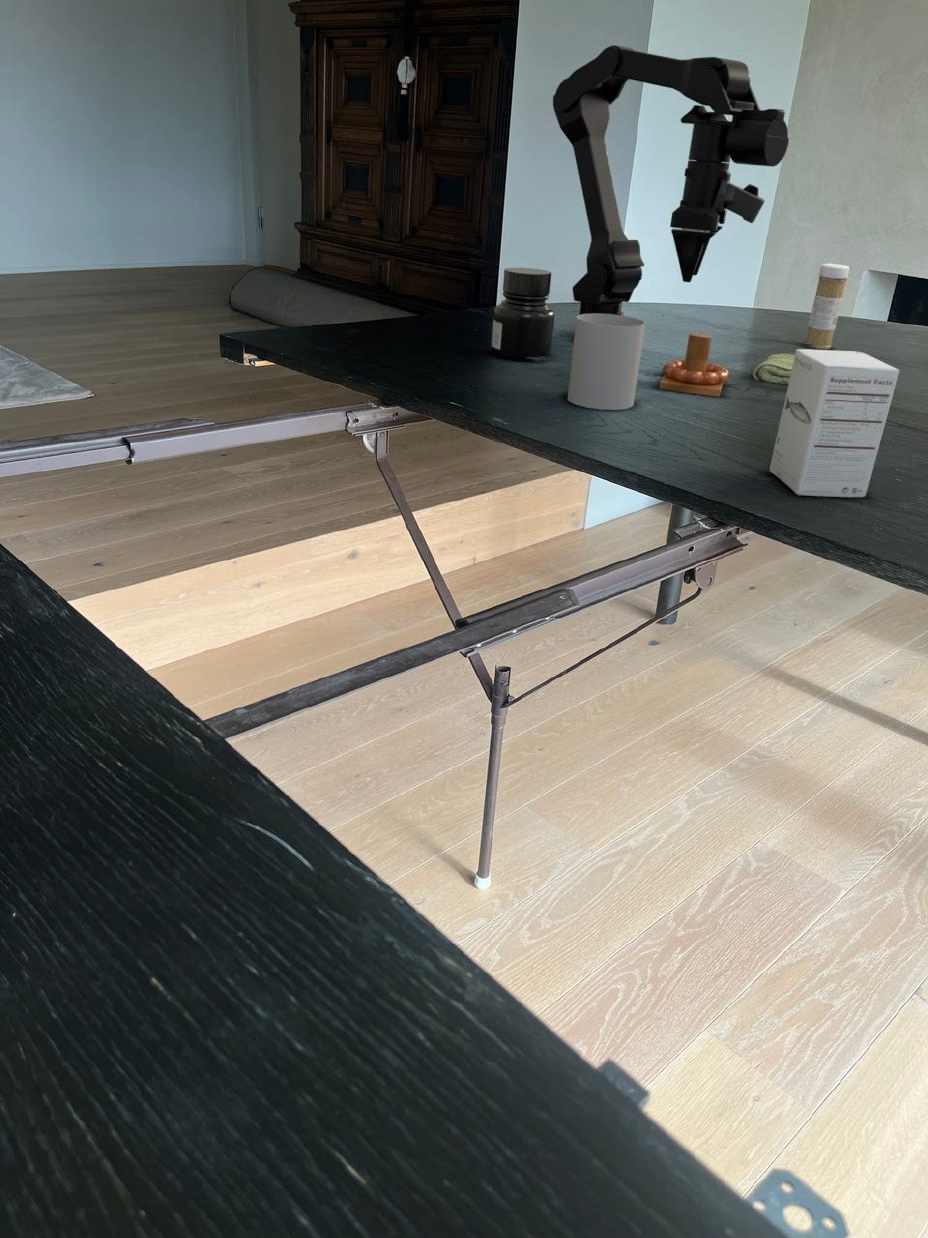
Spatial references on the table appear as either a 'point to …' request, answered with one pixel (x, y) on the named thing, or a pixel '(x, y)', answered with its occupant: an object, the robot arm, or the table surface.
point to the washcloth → (775, 369)
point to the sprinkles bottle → (826, 305)
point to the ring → (695, 373)
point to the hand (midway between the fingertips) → (690, 278)
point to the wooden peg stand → (694, 368)
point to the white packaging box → (832, 422)
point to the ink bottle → (523, 315)
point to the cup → (605, 361)
